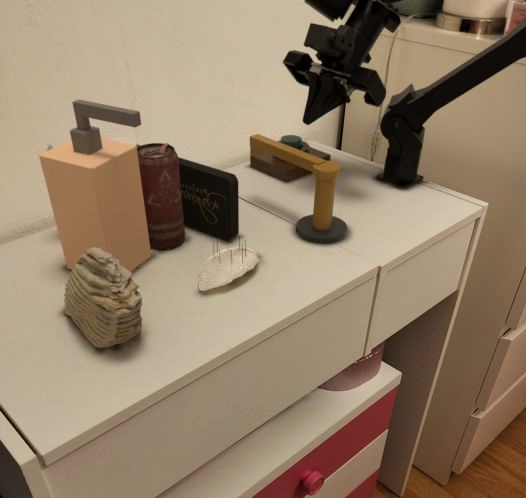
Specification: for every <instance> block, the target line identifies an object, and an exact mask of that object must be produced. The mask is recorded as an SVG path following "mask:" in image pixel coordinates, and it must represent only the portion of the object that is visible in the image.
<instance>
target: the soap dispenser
mask: <svg viewBox="0 0 526 498" xmlns="http://www.w3.org/2000/svg"><path fill="white" fill-rule="evenodd" d="M72 108H73V112H74V117H75V122H76V127H74V128H72V129H70V130H69V134H70V139H71V140H69V141H67V142H65V143H62V144H60V145H57V146H55V147H53V149H51V150H48V151H47V150H46V151H44V152H42V153H39V154H38V158H39V161H40V166H41V169H42V173H43V177H44V181H45V185H46V189H47V193H48V197H49V201H50V205H51V208H52V213H53V217H54V220H55V224H56V230H57V232H58V237H59V240H60V244H61V249H62V252H63V257H64V260H65V261H64V262H65V263H66V267H67V269H68V270H70V271H72V270H73V267H75V264H77V261H78V260H79V258H80V257H81V255H83V254H85V251H86V250H87V249H89V248H91V247H96V248H101V249H102V250H103V251H105V252H109V253H110V254H112V255H113V258H115V259H117V260H120V262H121V263H120V265H121V266H123V267H125V268H126V269H127V270H128V271H130V272H131V273H132V271H134V270H135V269H137V268H139V266H141V265H142V264H144V263H145V262H146V261H148V259H150V258H151V257H152V251H151V247H150V242H149V235H148V228H147V220H146V213H145V206H144V198H143V191H142V184H141V176H140V169H139V162H138V154H137V147H136V145H132V144H127V143H123V142H118V141H114V140H109V139H110V138H104V137H101V131H100V128H99V127H96V126H92V125H91V122H90V119H92V120H98V121H102V122H106V123H111V124H117V125H121V126H125V127H126V126H127V127H131V128H137V127H140V126H142V118H141V112H140V111H139V110H134V109H129V108H124V107H120V106H119V107H118V106H114V105H109V104H104V103H99V102H93V101H89V100H83V99H76V100H73V101H72Z"/></svg>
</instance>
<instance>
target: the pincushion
mask: <svg viewBox="0 0 526 498" xmlns="http://www.w3.org/2000/svg"><path fill="white" fill-rule="evenodd" d="M227 237H228V234H227ZM246 241H247V240H244V246H245V247H243V243H240V242H241V239H240V235H239V236H238V247H227V248H224V249H221V250H220V249H218V248H219V247H218V243H216V250H217V252H215V247H214V246H215V245H214V244H215V243H214V242H212V250H213V252H214V253H213V254H212V255H211V256H210V257H209V258H207V260H206V261H205V263H203V264H202V267H201V268H200V269H199V273H198V287H199V289H198V290H200V291H202V292H205V291H208V290H211V289H216V288H218V287H223V286H226V285H228V284H230V283H232V282H234V280H235V279H238V278H240V277H243V276H244V275H245V274H246V273H247V272H250V271H251V270H252V269H254V268H255V266H256V265H257V264H258V263H259V262H260V258H259V255H258V253H257V252H256V251H255V250H254V249H252V248H249V247H247V245H246Z"/></svg>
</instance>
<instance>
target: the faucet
mask: <svg viewBox="0 0 526 498" xmlns="http://www.w3.org/2000/svg"><path fill="white" fill-rule="evenodd" d="M336 182H337V179H335V180H320V179H317V178H315V183H314V195H313V208H312V209H313V211H312V214H309V215H304V216H302V217H301V218H299V219H298V220H297V221H296V223H295V232H296V235H297V236H298V237H299V238H300V239H302V240H304V241H307V242H309V243H313V244H319V245H327V244H328V245H329V244H334V243H338V242H340V241H342V240H343V239H345V238H346V236H347V233H348V225H347V223H346V222H345V221H344V220H343V219H342V218H340V217H338V216H334V215H333V213H334V206H335V205H334V203H335V195H336V194H335V193H336Z"/></svg>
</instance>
